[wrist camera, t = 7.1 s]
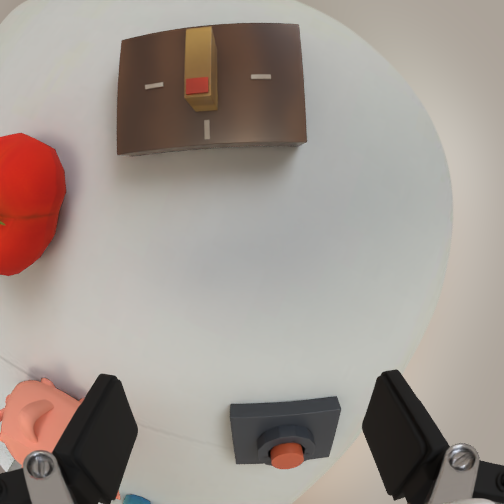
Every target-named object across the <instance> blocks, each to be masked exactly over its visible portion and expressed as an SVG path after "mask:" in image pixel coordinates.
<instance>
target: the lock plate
mask: <svg viewBox="0 0 504 504" xmlns="http://www.w3.org/2000/svg"><path fill="white" fill-rule="evenodd" d="M201 27H212V30H213V35H214V39H215V43H216V47H217V91H218V110H211V111H198V112H196V111H195V110H194V109H193V108H192V107H191V106H190V104H189V103H188V102H187V101H186V100H185V98H184V73H185V41H186V29H192V28H201ZM306 142H307V134H306V112H305V94H304V79H303V65H302V53H301V42H300V31H299V24H283V23H237V24H219V25H207V26H198V27H189V28H182V29H175V30H169V31H163V32H157V33H152V34H147V35H143V36H138V37H134V38H129V39H125V40H122V43H121V53H120V64H119V78H118V97H117V155H124V156H138V155H146V154H154V153H163V152H172V151H183V150H194V149H208V148H225V147H249V146H300V145H302V144H304V143H306Z"/></svg>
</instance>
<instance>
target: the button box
mask: <svg viewBox="0 0 504 504" xmlns="http://www.w3.org/2000/svg"><path fill="white" fill-rule="evenodd" d="M340 412H341V407H340V404H339V401H338V399H337V397H328V398H320V399H311V400H302V401H291V402H277V403H258V404H231V407H230V422H231V430H232V438H233V445H234V452H235V459H236V464H263V463H265V464H267V465H271V466H273V465H272V464H271V454H270V451H271V449H272V448H273V447H274V446H277V445H279V444H282V443H298V444H300V445H301V446H302V450H303V456H304V461H306V460H309V459H317V458H324V457H329V454H330V451H331V447H332V443H333V440H334V436H335V432H336V428H337V424H338V420H339V416H340ZM304 461H303V462H304Z"/></svg>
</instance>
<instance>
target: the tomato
mask: <svg viewBox="0 0 504 504" xmlns="http://www.w3.org/2000/svg"><path fill="white" fill-rule="evenodd" d="M65 194H66V184H65V172H64V169H63V167H62V164H61V162H60V160H59V158H58V155H57V153H56V150H55V149H54V148H52V147H50V146H48V145H46V144H44V143H42V142H40V141H39V140H37V139H35V138H32V137H30V136H28V135H25V134H23V133H17V134H12V135H7V136H3V137H0V275H6V276H10V275H14V274H19V273H20V272H21V271H23V270H24V269H26V268H27V267H28V266H30V265H31V264H33V263H34V262H35V261H36V260H37V259H39V258H40V257H41V255H42V254H43V252H44V251H45V249H46V248H47V246H48V245H49V243H50V242H51V240H52V239H53V237H54V235H55V232H56V226H57V221H58V215H59V211H60V208H61V205H62V202H63V199H64V196H65Z"/></svg>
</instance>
